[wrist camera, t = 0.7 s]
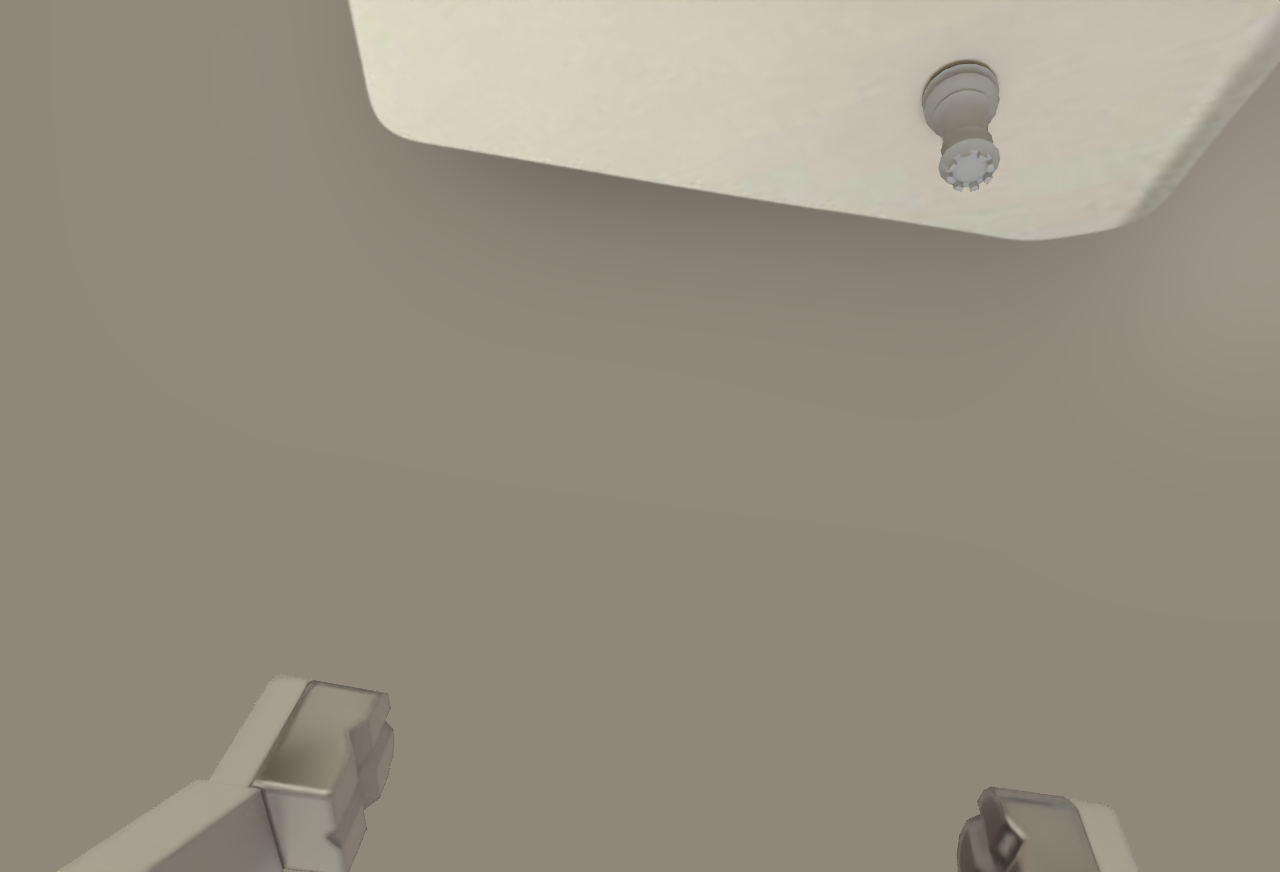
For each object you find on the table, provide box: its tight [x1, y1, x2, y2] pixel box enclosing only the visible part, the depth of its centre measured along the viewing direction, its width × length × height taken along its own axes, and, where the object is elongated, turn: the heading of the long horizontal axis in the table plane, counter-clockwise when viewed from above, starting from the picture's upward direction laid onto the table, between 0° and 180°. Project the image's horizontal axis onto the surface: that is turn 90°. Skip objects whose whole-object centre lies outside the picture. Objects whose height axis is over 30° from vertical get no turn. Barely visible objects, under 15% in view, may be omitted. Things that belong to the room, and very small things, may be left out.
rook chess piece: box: [922, 64, 1000, 192], centre depth 49 cm, size 4×4×8 cm
